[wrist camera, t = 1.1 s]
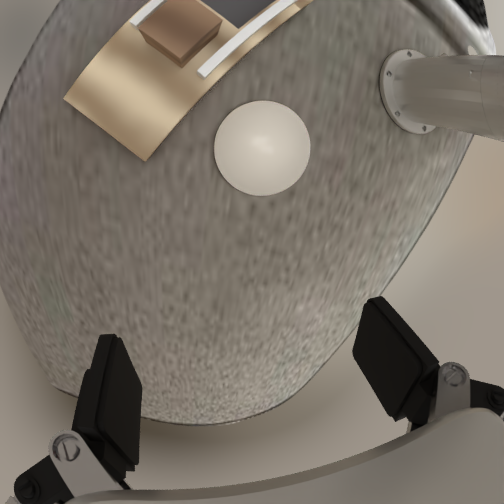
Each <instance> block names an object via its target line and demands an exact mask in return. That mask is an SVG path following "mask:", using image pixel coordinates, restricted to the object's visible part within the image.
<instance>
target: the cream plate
mask: <svg viewBox="0 0 504 504" xmlns="http://www.w3.org/2000/svg"><path fill="white" fill-rule="evenodd" d="M214 155H215V160H216V164H217V166H218V168H219V170H220V172H221V174H222V175H223V177H224V178H225V179H226V180H227V181H228V182H229V183H230V184H231V185H232V186H233V187H235V188H236V189H238V190H240V191H242V192H244V193H247V194H251V195H257V196H267V195H273V194H276V193H279V192H281V191H284V190H285V189H287V188H289V187H290V186H291V185H293V184H294V183H295V182H296V181H297V180H298V179H299V178H300V176H301V175H302V174H303V172H304V170H305V168H306V166H307V164H308V161H309V156H310V138H309V134H308V131H307V129H306V127H305V124H304V123H303V121H302V120H301V119H300V117H299V116H298V115H297V114H296V113H295V112H294V111H292V110H291V109H289V108H288V107H286V106H284V105H282V104H279V103H277V102H272V101H254V102H250V103H247V104H244V105H242V106H240V107H238V108H236V109H235V110H233V111H232V112H231V113H230V114H228V115H227V116H226V118H225V119H224V120H223V121H222V123H221V125H220V126H219V128H218V131H217V133H216V136H215V141H214Z"/></svg>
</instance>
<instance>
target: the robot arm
mask: <svg viewBox="0 0 504 504" xmlns="http://www.w3.org/2000/svg"><path fill="white" fill-rule="evenodd" d="M380 91H381V96H382V100H383V103H384V105H385V108H386V110H387V112H388V113H389V115H390V117H391V118H392V119H393V121H394V122H395V123H396V124H397V125H398V126H400V127H401V128H402V129H404V130H406V131H408V132H411V133H415V134H426V133H428V132H430V131H432V130H433V129H434V128H436V127H437V126H438V127H443V128H448V129H453V130H458V131H463V132H467V133H472V134H476V135H480V136H484V137H488V138H492V139H495V140H499V141H502V142H504V56H499V55H456V56H448V55H447V54H445V53H443V54H442V55H441V56H438V57H426V56H425V55H423V54H422V53H420V52H418V51H415V50H411V49H402V50H398V51H395V52H393V53H391V54H390V55H389V56H388V57H387V58H386V60H385V62H384V63H383V66H382V69H381V73H380ZM352 352H353V357H354V359H355V361H356V362H357V364H358V365H359V367H360V369H361V370H362V372H363V374H364V375H365V377H366V379H367V380H368V382H369V384H370V385H371V387H372V389H373V390H374V392H375V393H376V395H377V397H378V399H379V401H380V402H381V404H382V406H383V407H384V409H385V411H386V412H387V414H388V415H389V416H390V417H393V419H394V420H395V422H396V421H398V420H400V419H403V418H405V417H407V419H408V420H409V423H408V427H407V431H406V434H405V435H403V436H401V437H398V438H396V439H394V440H392V441H390V442H387V443H385V444H383V445H380V446H378V447H375V448H373V449H370V450H368V451H365V452H363V453H360V454H357V455H354V456H352V457H349V458H346V459H343V460H340V461H337V462H334V463H331V464H327V465H324V466H321V467H317V468H314V469H310V470H307V471H303V472H299V473H295V474H291V475H286V476H282V477H277V478H272V479H267V480H262V481H256V482H250V483H244V484H237V485H229V486H221V487H210V488H198V489H178V490H134V489H133V488H132V487H131V486H130V485H129V484H128V483H127V481H126V480H125V478H126V471H135V465H138V463H139V439H140V417H141V401H142V385H141V382H140V380H139V377H138V375H137V373H136V371H135V369H134V367H133V364H132V362H131V360H130V357H129V355H128V353H127V350H126V348H125V346H124V343H123V341H122V339H121V338H120V337H119V338H117V336H116V335H115V334H103V335H100V337H99V339H98V343H97V346H96V350H95V353H94V357H93V360H92V364H91V368H90V369H87V370H86V372H85V374H84V377H83V381H82V385H81V389H80V393H79V397H78V401H77V406H76V410H75V415H74V420H73V424H72V430H62V431H60V432H58V433H56V434H55V435H54V436H53V437H52V439H51V440H50V443H49V455H48V456H47V457H45V458H44V459H42V460H41V461H40V462H38V463H37V464H35V465H34V466H32V467H31V468H30V469H28V470H27V471H25V472H24V473H22V474H21V475H20V476H19V477H18V478H17V479H16V481H15V484H14V492H15V496H14V497H12V496H10V497H9V499H8V500H7V502H6V503H5V504H504V389H503V388H501V387H499V386H496V385H492V384H488V383H484V382H480V381H476V380H472V379H470V377H469V373H468V371H467V370H466V369H465V368H464V367H463V366H462V365H460V364H458V363H455V362H447V363H445V364H443V365H442V366H441V367H440V365H439V364H438V363H439V361H438V360H437V358H436V357H435V356H434V355H433V354H432V352H431V351H430V350H429V349H428V348H427V347H426V345H425V344H424V343H423V342H422V341H421V339H420V338H419V337H418V336H417V335H416V333H415V332H414V331H413V330H412V329H411V328H410V327H409V325H408V324H407V323H406V322H405V321H404V320H403V319H402V318H401V316H400V315H399V314H398V313H397V312H396V311H395V309H394V308H392V306H391V305H390V304H389V303H388V302H387V301H386V300H385V298H383V297H382V296H379V297H375V298H370V299H368V300H367V303H365V304H364V306H363V311H362V315H361V319H360V323H359V327H358V331H357V335H356V339H355V343H354V346H353V350H352Z"/></svg>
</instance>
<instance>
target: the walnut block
mask: <svg viewBox="0 0 504 504" xmlns="http://www.w3.org/2000/svg"><path fill="white" fill-rule="evenodd" d="M222 21H223V20H222V19H221V18H220V17H218V16H217V15H216V14H214V13H213V12H212V11H210V10H209V9H208V8H206V7H205V6H203V5H202V4H200V3H199V2H198V1H196V0H168V1H167V2H165V3H164V4H163V5H162V6H161V7H160V8H159V9H157V10H156V11H155V12H154V13H153V14H152V15H151V16H150V17H149V18H148V19H147V20H146V21H144V22H143V23H142V24H141V25H140V26H139V27H138V29H139V31H140V33H141V34H142V36H143V38H144V39H145V41H146V42H147V43H148V44H149V45H151V46H152V47H154V48H155V49H156V50H158V51H159V52H161V53H162V54H163V55H165V56H166V57H167V58H169V59H170V60H171V61H173V62H174V63H175V64H176V65H178V66H179V67H180V68H183V67H184V66H185V65H186V64H187V63H188V62H189V61H190V60H191V59H192V58H193V57H194V56H195V55H196V54H197V53H198V52H200V51H201V50H202V49H203V48H204V47H205V46H206V45H207V44H208V43H209V42H210V41H211V40H213V39H214V38H215V37H216V36H217V35H218V32H219V29H220V26H221V24H222Z"/></svg>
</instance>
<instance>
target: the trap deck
mask: <svg viewBox="0 0 504 504" xmlns="http://www.w3.org/2000/svg"><path fill="white" fill-rule="evenodd" d="M167 1H168V0H150V1H148V2H147V3H146V4H145V5H144V6H143V7H142V8H141V9H140V10H139V11H138V12H136V13H135V14H134V15H133V16H132V17H131V18H130V19H129V20H128V21H127V22H126V23H125V24H124V25H123V26H122V27H121V28H120V29H119V30H118V31H117V32H116V33H115V35H114V36H113V37H112V38H111V39H110V40H109V41H108V42H107V43H106V44H105V46H104V47H103V48H102V49H101V50H100V51H99V52H98V54H97V55H96V56H95V57H94V58H93V60H92V61H91V62H90V63H89V65H88V66H87V67H86V68H85V70H84V71H83V72H82V73H81V75H80V76H79V77H78V79H77V80H76V81H75V83H74V84H73V85H72V87H71V88H70V90H69V91H68V93H67V94H66V95H65V97H64V98H63V99H65V100H66V101H67V102H68V103H70V104H71V105H72V106H74V107H75V108H76V109H78V110H79V111H80V112H81V113H83V114H84V115H85V116H87V117H88V118H89V119H91V120H92V121H93V122H94V123H96V124H97V125H98V126H100V127H101V128H102V129H103V130H105V131H106V132H107V133H109V134H110V135H111V136H112V137H114V138H115V139H116V140H118V141H119V142H120V143H122V144H123V145H124V146H125V147H127V148H128V149H129V150H131V151H132V152H133V153H134V154H136V155H137V156H138V157H140V158H141V159H142V160H143V161H145V162H146V161H147V160H148V159H149V158H150V157H151V155H152V154H153V153H154V151H155V150H156V149H157V148H158V147H159V145H160V144H161V143H162V142H163V140H164V139H165V138H166V137H167V136H168V134H169V133H170V132H171V131H172V130H173V129H174V127H175V126H176V125H177V124H178V123H179V122H180V121H181V119H182V118H183V117H184V116H185V115H186V114H187V113H188V112H189V111H190V109H191V108H192V107H193V106H194V105H195V104H196V103H197V102H198V101H199V100H200V99H201V98H202V97H203V96H204V95H205V94H206V93H207V91H208V90H209V89H210V88H211V87H212V86H213V85H214V84H215V83H216V82H217V81H218V80H219V79H220V78H221V77H222V76H223V75H225V74H226V73H227V72H228V71H229V70H230V69H231V68H232V67H233V66H234V65H235V64H236V63H237V62H238V61H239V60H240V59H242V58H243V57H244V56H245V55H246V54H247V53H248V52H249V51H250V50H252V49H253V48H254V47H255V46H256V45H257V44H259V43H260V42H261V41H262V40H263V39H264V38H266V37H267V36H268V35H269V34H270V33H272V32H273V31H274V30H275V29H277V28H278V27H279V26H280V25H282V24H283V23H284V22H286V21H287V20H288V19H289V18H291V17H292V16H293V15H295V14H296V13H297V12H299V11H300V10H302V9H303V8H304V7H306V6H307V5H308V4H309V3H311V2H312V1H313V0H196V1H198V2H199V3H200V4H202V5H203V6H205V7H206V8H208V9H209V10H210V11H212V12H213V13H214V14H216V15H217V16H218V17H220V18H221V19H222V20H223V21H222V24H221V26H220V29H219V32H218V35H217V36H216V37H215V38H214V39H213V40H211V41H210V42H209V43H208V44H207V45H206V46H205V47H204V48H203V49H202V50H201V51H200V52H198V53H197V54H196V55H195V56H194V57H193V58H192V59H191V60H190V61H189V62H188V63H187V64H186V65H185V66H184V67H183V68H180V67H179V66H178V65H176V64H175V63H174V62H173V61H171V60H170V59H169V58H167V57H166V56H165V55H163V54H162V53H161V52H159V51H158V50H156V49H155V48H154V47H152V46H151V45H149V44H148V43H147V42H146V41H145V39H144V38H143V36H142V34H141V33H140V31H139V29H138V27H139V26H140V25H141V24H142V23H143V22H144V21H146V20H147V19H148V18H149V17H150V16H151V15H152V14H153V13H154V12H155V11H156V10H157V9H159V8H160V7H161V6H162V5H163V4H164V3H165V2H167Z"/></svg>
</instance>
